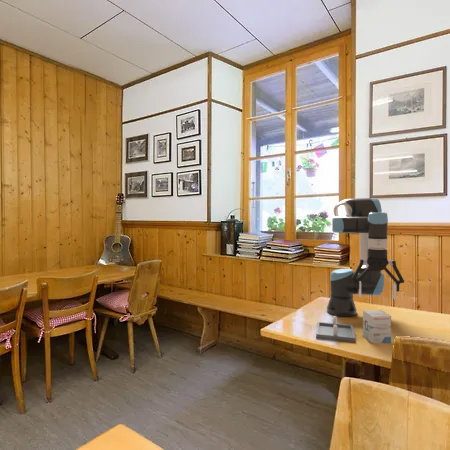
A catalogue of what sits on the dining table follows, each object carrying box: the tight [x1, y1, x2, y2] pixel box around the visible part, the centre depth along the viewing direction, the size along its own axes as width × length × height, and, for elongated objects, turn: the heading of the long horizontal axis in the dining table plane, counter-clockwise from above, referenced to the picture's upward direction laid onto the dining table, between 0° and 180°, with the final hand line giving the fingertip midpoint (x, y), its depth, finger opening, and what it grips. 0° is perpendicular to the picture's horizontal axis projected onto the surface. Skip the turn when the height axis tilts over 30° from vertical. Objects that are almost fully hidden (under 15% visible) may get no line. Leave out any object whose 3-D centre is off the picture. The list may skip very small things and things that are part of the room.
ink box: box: [362, 309, 392, 344], centre depth 139 cm, size 8×8×12 cm
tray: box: [315, 315, 356, 343], centre depth 146 cm, size 16×16×6 cm
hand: (377, 297), depth 138 cm, fingers open, 13 cm apart
